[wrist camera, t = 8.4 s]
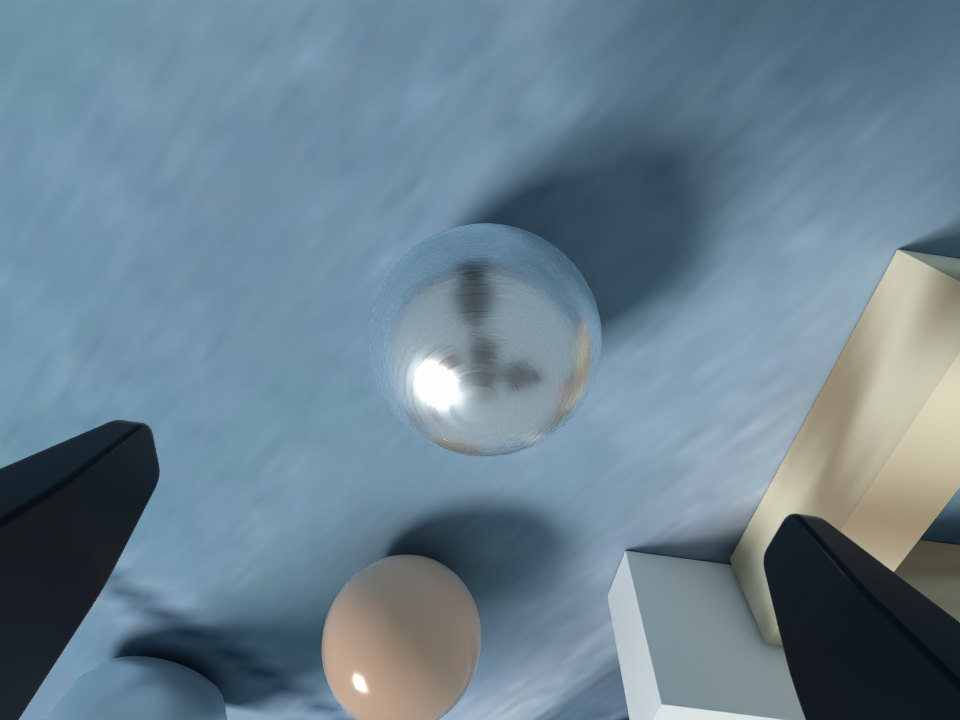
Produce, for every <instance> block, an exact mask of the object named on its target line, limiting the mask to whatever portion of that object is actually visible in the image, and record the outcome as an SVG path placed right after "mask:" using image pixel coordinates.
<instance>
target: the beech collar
mask: <svg viewBox="0 0 960 720" xmlns="http://www.w3.org/2000/svg"><path fill="white" fill-rule="evenodd" d="M959 488H960V259H958V258H951V257H944V256H938V255H931V254H925V253H918V252H912V251H905V250H899V249H898V250H897V252H896V254H895V255H894V257H893V259H892V261H891V263H890V265H889V266H888V268H887V270H886V272H885V274H884V276H883V278H882V279H881V281H880V283H879V285H878V287H877V289H876V290H875V292H874V294H873V296H872V298H871V300H870V301H869V303H868V305H867V307H866V309H865V311H864V313H863V314H862V316H861V318H860V320H859V322H858V324H857V325H856V327H855V329H854V331H853V333H852V335H851V336H850V338H849V340H848V342H847V344H846V346H845V348H844V349H843V351H842V353H841V355H840V357H839V359H838V360H837V362H836V364H835V366H834V368H833V370H832V371H831V373H830V375H829V377H828V379H827V381H826V382H825V384H824V386H823V388H822V390H821V392H820V394H819V395H818V397H817V399H816V401H815V403H814V405H813V406H812V408H811V410H810V412H809V414H808V416H807V417H806V419H805V421H804V423H803V425H802V427H801V429H800V430H799V432H798V434H797V436H796V438H795V440H794V441H793V443H792V445H791V447H790V449H789V451H788V452H787V454H786V456H785V458H784V460H783V462H782V464H781V465H780V467H779V469H778V471H777V473H776V475H775V476H774V478H773V480H772V482H771V484H770V486H769V487H768V489H767V491H766V493H765V495H764V497H763V499H762V500H761V502H760V504H759V506H758V508H757V510H756V511H755V513H754V515H753V517H752V519H751V521H750V522H749V524H748V526H747V528H746V530H745V532H744V533H743V535H742V537H741V539H740V541H739V543H738V545H737V546H736V548H735V550H734V552H733V554H732V556H731V557H730V561H731V564H732V566H733V568H734V571H735V573H736V575H737V578H738V580H739V582H740V585H741V587H742V589H743V592H744V594H745V596H746V598H747V601H748V603H749V605H750V608H751V610H752V612H753V615H754V617H755V619H756V622H757V624H758V626H759V628H760V631H761V633H762V635H763V638H764V640H765V642H766V643H771V644H779V645H782V641H781V637H780V633H779V629H778V625H777V621H776V616H775V612H774V608H773V604H772V600H771V596H770V592H769V588H768V584H767V579H766V575H765V571H764V564H763V560H764V554H765V551H766V549H767V547H768V545H769V543H770V542H771V540H772V538H773V537H774V535H775V533H776V532H777V530H778V528H779V527H780V525H781V523H782V522H783V520H784V519H785V518H786V517H787V516H788V515H790V514H794V513H797V514H804V515H811V516H817V517H820V518H822V519H824V520H826V521H827V522H828V523H830V524H831V525H832V526H834V527H835V528H836V529H838V530H839V531H840V532H842V533H843V534H844V535H846V536H847V537H848V538H850V539H851V540H852V541H853V542H855V543H856V544H857V545H859V546H860V547H861V548H863V549H864V550H865V551H867V552H868V553H869V554H871V555H872V556H873V557H875V558H876V559H877V560H878V561H880V562H881V563H882V564H884V565H885V566H886V567H888V568H889V569H890V570H892V571H893V572H894V573H896V574H897V575H898V576H900V577H901V578H902V579H904V580H905V581H906V582H907V583H909V584H910V585H911V586H913V587H914V588H915V589H917V590H918V591H919V592H921V593H922V594H923V595H925V596H926V597H927V598H929V599H930V600H931V601H932V602H934V603H935V604H936V605H938V606H939V607H940V608H942V609H943V610H944V611H946V612H947V613H948V614H950V615H951V616H952V617H954V618H955V619H956V620H958V621H959V622H960V545H954V544H946V543H939V542H932V541H924V540H919V539H920V538H921V536H922V535H923V534H924V533H925V531H926V530H927V529H928V528H929V526H930V525H931V524H932V522H933V521H934V520H935V519H936V517H937V516H938V515H939V513H940V512H941V511H942V510H943V508H944V507H945V506H946V504H947V503H948V502H949V501H950V499H951V498H952V497H953V495H954V494H955V493H956V492H957V490H958V489H959Z"/></svg>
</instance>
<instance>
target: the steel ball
mask: <svg viewBox="0 0 960 720" xmlns="http://www.w3.org/2000/svg"><path fill="white" fill-rule="evenodd" d="M601 349H602V330H601V321H600V316H599V312H598V308H597V304H596V301H595V299H594V296H593V294H592V291H591V289H590V287H589V286H588V284H587V282H586V280H585V279H584V277H583V275H582V274H581V272H580V271H579V270H578V268H577V267H576V266H575V265H574V263H573V262H572V261H571V260H570V259H569V258H568V257H567V256H566V255H565V254H564V253H562V252H561V251H560V250H559V249H558V248H556V247H555V246H554V245H552V244H551V243H549V242H548V241H547V240H545V239H543V238H541V237H539V236H537V235H535V234H534V233H531V232H529V231H526V230H523V229H520V228H517V227H513V226H508V225H504V224H493V223H477V224H468V225H462V226H457V227H454V228H451V229H448V230H444V231H442V232H440V233H438V234H436V235H434V236H431V237H430V238H428V239H426V240H425V241H423V242H422V243H420V244H418V245H417V246H415V247H414V248H413V249H412V250H411V251H409V252H408V253H407V254H406V255H405V256H404V257H403V258H402V259H401V260H400V261H399V262H398V263H397V265H396V266H395V267H394V268H393V269H392V271H391V272H390V274H389V275H388V277H387V278H386V280H385V281H384V283H383V284H382V287H381V289H380V291H379V293H378V296H377V298H376V301H375V304H374V307H373V311H372V314H371V319H370V327H369V354H370V360H371V365H372V369H373V373H374V376H375V379H376V382H377V385H378V387H379V389H380V391H381V393H382V395H383V397H384V399H385V400H386V402H387V403H388V405H389V406H390V408H391V409H392V411H393V412H394V413H395V415H396V416H397V417H398V418H399V419H400V420H401V421H402V422H403V423H404V424H405V425H406V426H407V427H408V428H409V429H411V430H412V431H413V432H414V433H416V434H417V435H418V436H420V437H421V438H423V439H424V440H426V441H428V442H429V443H431V444H433V445H435V446H437V447H440V448H442V449H445V450H448V451H451V452H454V453H458V454H463V455H468V456H478V457H494V456H502V455H508V454H513V453H517V452H520V451H523V450H526V449H529V448H531V447H533V446H535V445H537V444H539V443H541V442H543V441H544V440H546V439H548V438H549V437H551V436H552V435H554V434H555V433H556V432H558V431H559V430H560V429H561V428H563V427H564V426H565V425H566V424H567V423H568V422H569V421H570V420H571V419H572V418H573V416H574V415H575V414H576V413H577V411H578V410H579V409H580V407H581V406H582V405H583V403H584V402H585V400H586V398H587V396H588V394H589V393H590V391H591V388H592V386H593V383H594V381H595V378H596V375H597V373H598V369H599V364H600V359H601Z"/></svg>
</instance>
